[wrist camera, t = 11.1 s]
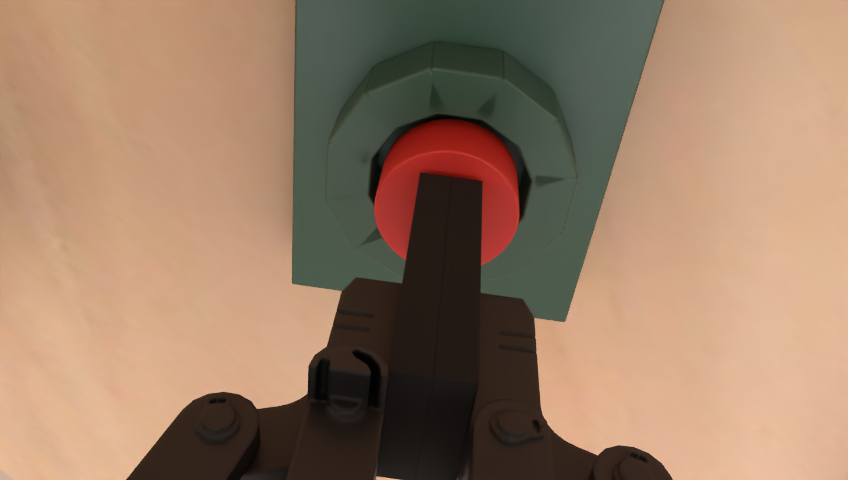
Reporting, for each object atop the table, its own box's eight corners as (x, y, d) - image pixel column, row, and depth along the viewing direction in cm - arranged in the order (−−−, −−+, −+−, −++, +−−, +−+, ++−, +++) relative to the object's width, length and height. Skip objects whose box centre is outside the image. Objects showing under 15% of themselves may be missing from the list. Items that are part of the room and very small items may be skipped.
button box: (314, -92, 19) (277, -55, 16) (654, -44, 19) (687, 3, 16) (305, 245, 25) (278, 321, 22) (560, 281, 25) (570, 362, 22)
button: (388, 108, 18) (379, 140, 17) (529, 128, 18) (533, 161, 17) (377, 225, 20) (368, 262, 19) (504, 243, 20) (505, 281, 19)
